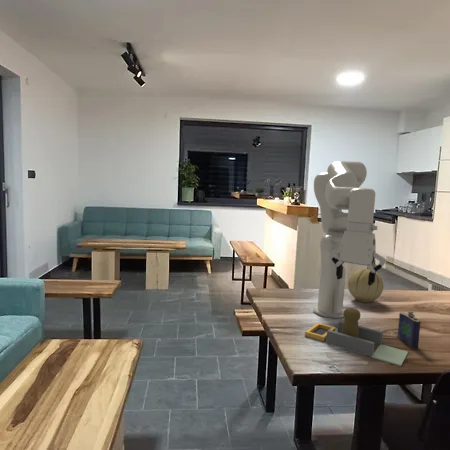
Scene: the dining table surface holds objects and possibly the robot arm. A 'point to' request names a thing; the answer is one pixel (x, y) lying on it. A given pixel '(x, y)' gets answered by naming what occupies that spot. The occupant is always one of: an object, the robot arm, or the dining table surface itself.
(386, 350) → the mat
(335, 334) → the grey parallel walls
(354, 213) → the robot arm
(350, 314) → the cork
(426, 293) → the dining table surface
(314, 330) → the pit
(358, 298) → the cantaloupe
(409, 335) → the flask
